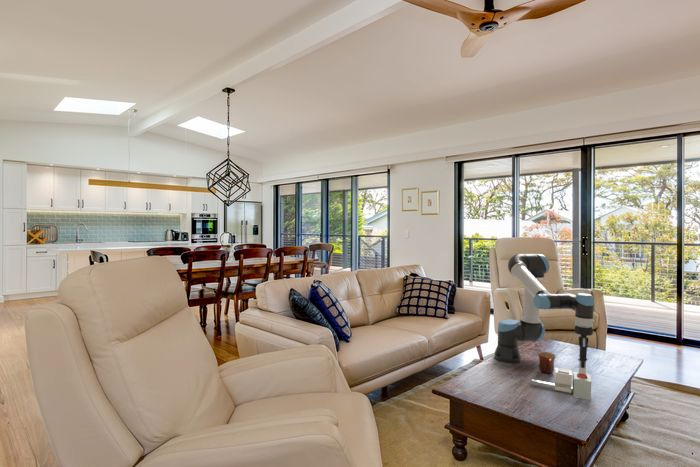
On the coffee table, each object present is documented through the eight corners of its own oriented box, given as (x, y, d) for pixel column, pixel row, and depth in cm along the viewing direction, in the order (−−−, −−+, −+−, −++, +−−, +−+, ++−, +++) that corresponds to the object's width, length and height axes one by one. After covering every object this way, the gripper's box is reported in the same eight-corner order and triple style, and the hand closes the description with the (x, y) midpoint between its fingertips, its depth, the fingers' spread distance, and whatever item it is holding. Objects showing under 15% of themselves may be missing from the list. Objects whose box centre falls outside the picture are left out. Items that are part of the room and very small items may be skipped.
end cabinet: (572, 396, 186) (573, 378, 186) (572, 388, 195) (572, 371, 195) (590, 400, 183) (591, 381, 182) (589, 392, 192) (589, 374, 191)
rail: (530, 385, 198) (530, 380, 198) (531, 383, 201) (531, 379, 200) (575, 394, 189) (575, 389, 189) (575, 392, 191) (575, 387, 191)
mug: (535, 369, 221) (536, 351, 220) (552, 370, 219) (552, 352, 218) (541, 377, 209) (542, 358, 208) (559, 379, 207) (559, 360, 207)
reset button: (577, 380, 188) (578, 374, 188) (577, 377, 191) (577, 371, 191) (586, 382, 186) (586, 375, 186) (586, 379, 189) (586, 373, 189)
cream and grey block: (554, 389, 191) (555, 371, 191) (554, 384, 197) (555, 366, 197) (571, 392, 188) (571, 374, 187) (570, 387, 194) (571, 369, 194)
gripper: (594, 330, 180) (592, 379, 181) (591, 323, 191) (590, 370, 192) (575, 327, 183) (573, 376, 184) (574, 321, 195) (573, 367, 196)
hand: (582, 373), depth 188 cm, fingers closed
